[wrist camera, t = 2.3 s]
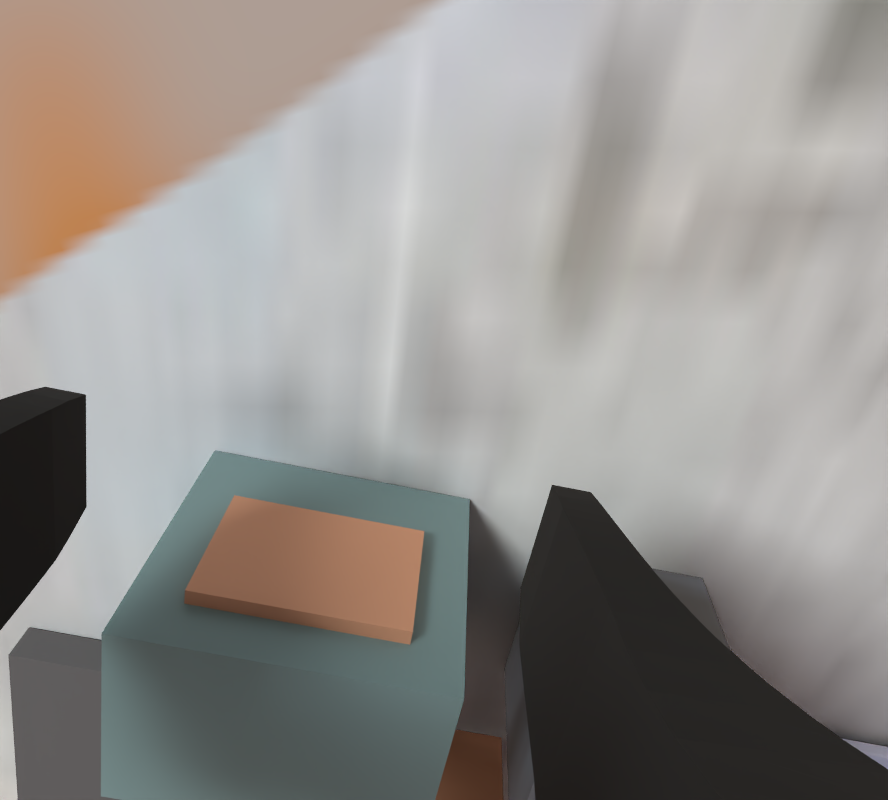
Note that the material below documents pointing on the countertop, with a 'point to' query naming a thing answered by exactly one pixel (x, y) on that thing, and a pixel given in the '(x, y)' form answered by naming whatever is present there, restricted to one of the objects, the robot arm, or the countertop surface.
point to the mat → (57, 716)
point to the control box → (289, 642)
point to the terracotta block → (472, 768)
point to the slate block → (518, 740)
